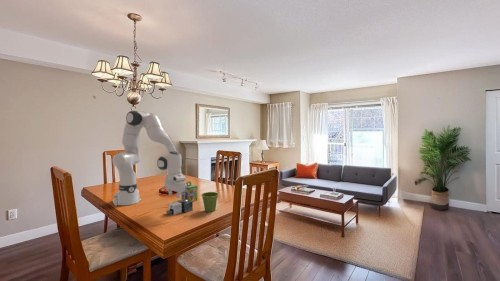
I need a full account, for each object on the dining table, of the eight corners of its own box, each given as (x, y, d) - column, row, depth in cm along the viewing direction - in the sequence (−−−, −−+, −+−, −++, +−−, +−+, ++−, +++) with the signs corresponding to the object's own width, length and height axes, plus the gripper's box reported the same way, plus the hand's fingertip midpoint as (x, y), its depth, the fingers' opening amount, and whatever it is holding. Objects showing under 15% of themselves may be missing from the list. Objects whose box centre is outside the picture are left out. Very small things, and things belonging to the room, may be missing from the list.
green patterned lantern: (189, 203, 177) (189, 183, 176) (180, 201, 182) (180, 182, 181) (198, 200, 185) (197, 181, 184) (189, 198, 190) (189, 180, 189)
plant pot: (197, 210, 161) (197, 194, 160) (212, 206, 169) (212, 191, 168) (207, 214, 152) (207, 197, 152) (222, 210, 160) (222, 194, 160)
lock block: (168, 212, 156) (168, 203, 155) (177, 210, 160) (176, 201, 160) (173, 214, 152) (173, 205, 152) (182, 212, 157) (181, 203, 156)
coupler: (163, 213, 155) (163, 203, 155) (184, 207, 167) (184, 197, 167) (171, 216, 148) (171, 206, 148) (192, 210, 160) (192, 200, 160)
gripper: (162, 174, 159) (162, 194, 160) (178, 179, 146) (178, 201, 147) (170, 173, 164) (170, 192, 165) (187, 177, 151) (186, 199, 151)
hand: (174, 196), depth 156 cm, fingers open, 8 cm apart
